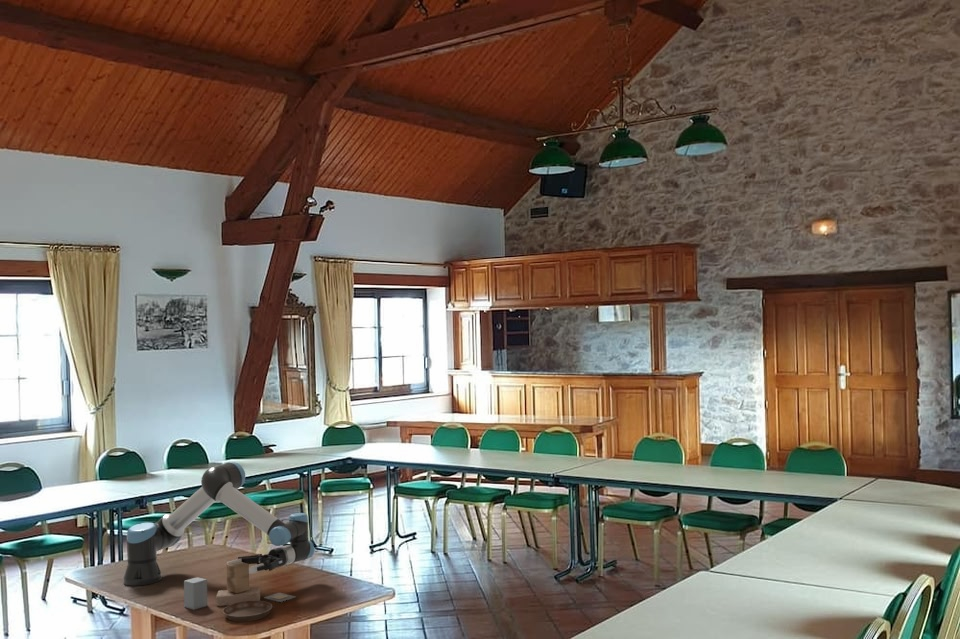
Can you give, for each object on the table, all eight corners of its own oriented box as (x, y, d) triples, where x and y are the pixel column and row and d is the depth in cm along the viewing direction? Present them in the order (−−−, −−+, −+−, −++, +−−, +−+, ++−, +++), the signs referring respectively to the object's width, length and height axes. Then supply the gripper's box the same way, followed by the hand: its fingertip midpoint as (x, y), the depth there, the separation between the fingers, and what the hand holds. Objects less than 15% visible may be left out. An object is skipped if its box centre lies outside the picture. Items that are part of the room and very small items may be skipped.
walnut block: (227, 590, 356) (226, 564, 356) (240, 587, 360) (239, 561, 360) (236, 593, 352) (235, 567, 352) (249, 589, 357) (248, 563, 357)
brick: (215, 607, 350) (215, 594, 350) (217, 601, 358) (217, 589, 358) (260, 603, 353) (259, 591, 353) (260, 597, 361) (260, 585, 362)
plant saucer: (257, 625, 327) (257, 616, 327) (213, 622, 332) (213, 613, 332) (281, 610, 344) (280, 602, 344) (238, 607, 349) (238, 599, 349)
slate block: (184, 607, 350) (183, 580, 350) (197, 603, 355) (197, 577, 355) (193, 609, 346) (193, 583, 346) (207, 605, 351) (206, 579, 351)
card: (263, 598, 359) (263, 596, 359) (279, 593, 365) (279, 592, 365) (280, 602, 353) (280, 601, 353) (296, 597, 359) (296, 596, 359)
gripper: (301, 570, 365) (259, 582, 349) (261, 561, 381) (218, 573, 364) (301, 551, 366) (258, 562, 349) (261, 543, 381) (218, 554, 364)
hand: (238, 568), depth 356 cm, fingers open, 13 cm apart
